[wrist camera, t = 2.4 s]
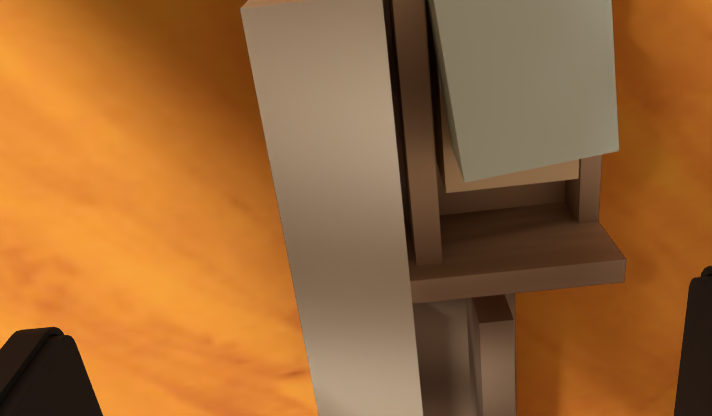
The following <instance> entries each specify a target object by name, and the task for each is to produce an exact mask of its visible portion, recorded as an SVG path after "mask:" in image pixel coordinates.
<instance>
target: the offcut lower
mask: <svg viewBox="0 0 712 416" xmlns="http://www.w3.org/2000/svg"><path fill="white" fill-rule="evenodd" d="M426 10H427V25H428V39H429V54H430V68H431V83H432V97H433V111H434V126H435V140H436V155H437V164H438V168H439V171H440V174H441V178H442V181H443V185H444V188H445V191H446V193H452V192H461V191H470V190H480V189H489V188H498V187H507V186H516V185H526V184H535V183H544V182H553V181H562V180H571V179H578V178H579V159H578V160H573V161H568V162H563V163H558V164H553V165H549V166H544V167H539V168H534V169H529V170H524V171H519V172H515V173H510V174H505V175H500V176H495V177H490V178H485V179H481V180H476V181H471V182H466V183H465V182H464V180H463V177H462V174H461V172H460V169H459V166H458V164H457V161H456V158H455V156H454V153H453V150H452V145H451V140H450V134H449V128H448V122H447V116H446V111H445V105H444V99H443V93H442V88H441V82H440V76H439V70H438V64H437V59H436V53H435V47H434V41H433V35H432V30H431V24H430V18H429V12H428V7H427V1H426Z"/></svg>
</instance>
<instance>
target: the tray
mask: <svg viewBox="0 0 712 416" xmlns="http://www.w3.org/2000/svg"><path fill="white" fill-rule="evenodd" d="M383 11H384V21H385V31H386V41H387V51H388V62H389V72H390V82H391V92H392V102H393V113H394V123H395V133H396V143H397V153H398V164H399V174H400V184H401V194H402V204H403V215H404V225H405V235H406V245H407V255H408V266H409V276H410V286H411V296H412V304H413V303H423V302H433V301H442V300H452V299H462V298H472V297H482V296H492V295H502V294H512V293H522V292H532V291H542V290H552V289H562V288H572V287H582V286H592V285H602V284H611V283H621V282H625V269H626V258H625V257H624V255H623V254H622V253H621V251H620V250H619V249H618V247H617V246H616V245H615V243H614V242H613V240H612V239H611V238H610V236H609V235H608V234H607V232H606V231H605V229H604V228H603V227H602V225H601V224H600V223H599V205H600V186H601V166H602V155H597V156H592V157H587V158H583V159H579V178H578V179H571V180H562V181H553V182H544V183H535V184H526V185H516V186H507V187H498V188H489V189H480V190H470V191H461V192H452V193H446V191H445V188H444V185H443V181H442V178H441V174H440V171H439V168H438V164H437V155H436V140H435V126H434V111H433V97H432V83H431V68H430V54H429V39H428V25H427V10H426V0H383Z"/></svg>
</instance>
